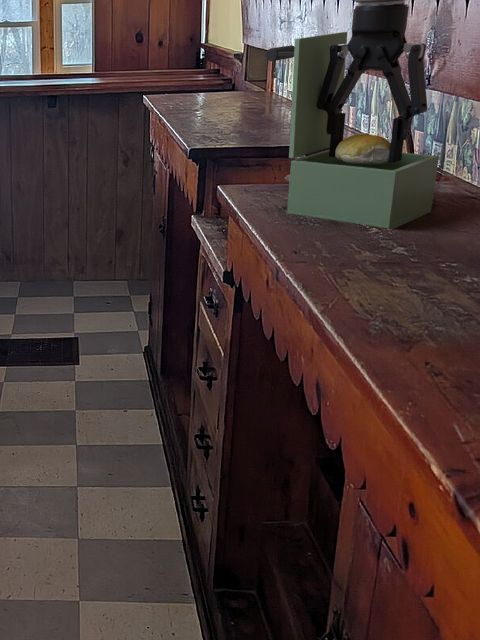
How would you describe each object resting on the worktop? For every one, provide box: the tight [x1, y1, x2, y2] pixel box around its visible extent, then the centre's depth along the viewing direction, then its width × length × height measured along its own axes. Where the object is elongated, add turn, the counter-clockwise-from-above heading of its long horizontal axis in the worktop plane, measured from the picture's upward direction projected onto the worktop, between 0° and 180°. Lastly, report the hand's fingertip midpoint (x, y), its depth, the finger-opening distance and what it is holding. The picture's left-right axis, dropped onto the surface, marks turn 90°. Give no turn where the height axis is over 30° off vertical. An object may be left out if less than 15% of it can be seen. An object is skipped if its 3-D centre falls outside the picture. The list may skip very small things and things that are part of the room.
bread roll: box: [335, 133, 391, 164], centre depth 135 cm, size 8×9×4 cm
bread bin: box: [286, 149, 440, 230], centre depth 137 cm, size 17×15×9 cm
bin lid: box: [265, 31, 348, 159], centre depth 141 cm, size 18×15×8 cm
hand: (364, 158), depth 136 cm, fingers closed on bread roll, 9 cm apart
